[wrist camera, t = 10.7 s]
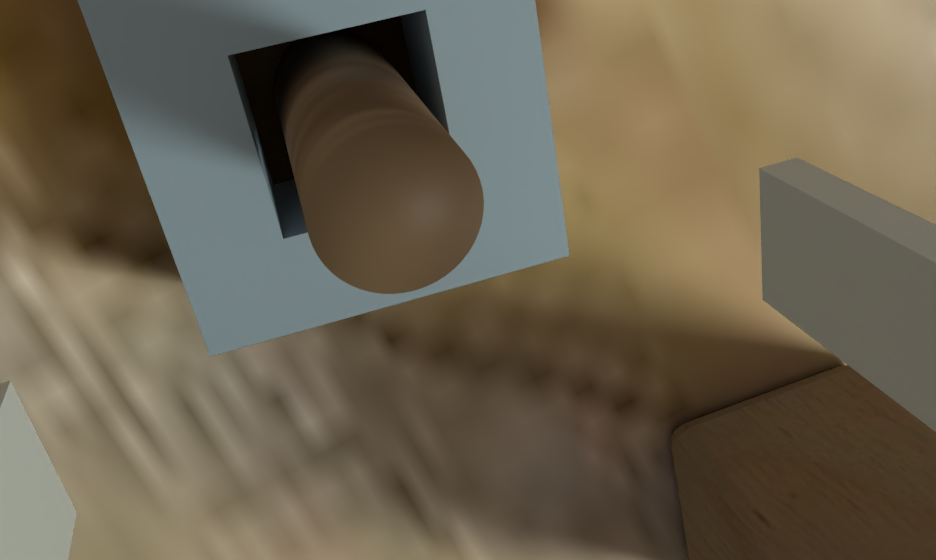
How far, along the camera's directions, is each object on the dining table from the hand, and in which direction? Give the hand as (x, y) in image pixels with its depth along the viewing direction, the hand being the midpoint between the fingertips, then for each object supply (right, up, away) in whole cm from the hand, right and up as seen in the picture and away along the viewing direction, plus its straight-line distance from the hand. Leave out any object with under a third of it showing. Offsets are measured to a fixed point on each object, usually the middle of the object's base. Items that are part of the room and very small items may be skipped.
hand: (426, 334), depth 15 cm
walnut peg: (-4, +8, +15) cm, 17 cm away
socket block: (-4, +7, +15) cm, 17 cm away
